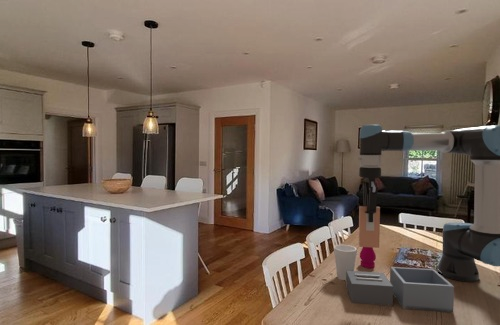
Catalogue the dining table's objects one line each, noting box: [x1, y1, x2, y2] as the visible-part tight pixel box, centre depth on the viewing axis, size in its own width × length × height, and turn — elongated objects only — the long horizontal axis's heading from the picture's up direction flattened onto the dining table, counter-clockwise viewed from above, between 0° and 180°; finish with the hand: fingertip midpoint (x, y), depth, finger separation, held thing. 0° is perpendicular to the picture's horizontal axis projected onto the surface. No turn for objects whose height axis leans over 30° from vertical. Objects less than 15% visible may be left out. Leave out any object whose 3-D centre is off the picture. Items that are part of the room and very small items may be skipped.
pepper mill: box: [359, 247, 377, 269], centre depth 143 cm, size 7×7×20 cm
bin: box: [389, 266, 455, 313], centre depth 110 cm, size 16×15×9 cm
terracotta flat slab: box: [358, 205, 381, 249], centre depth 112 cm, size 7×2×15 cm, turn 81°
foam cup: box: [333, 244, 358, 282], centre depth 130 cm, size 10×9×13 cm
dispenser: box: [345, 270, 394, 306], centre depth 113 cm, size 14×12×8 cm
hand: (369, 229), depth 112 cm, fingers closed on terracotta flat slab, 2 cm apart
